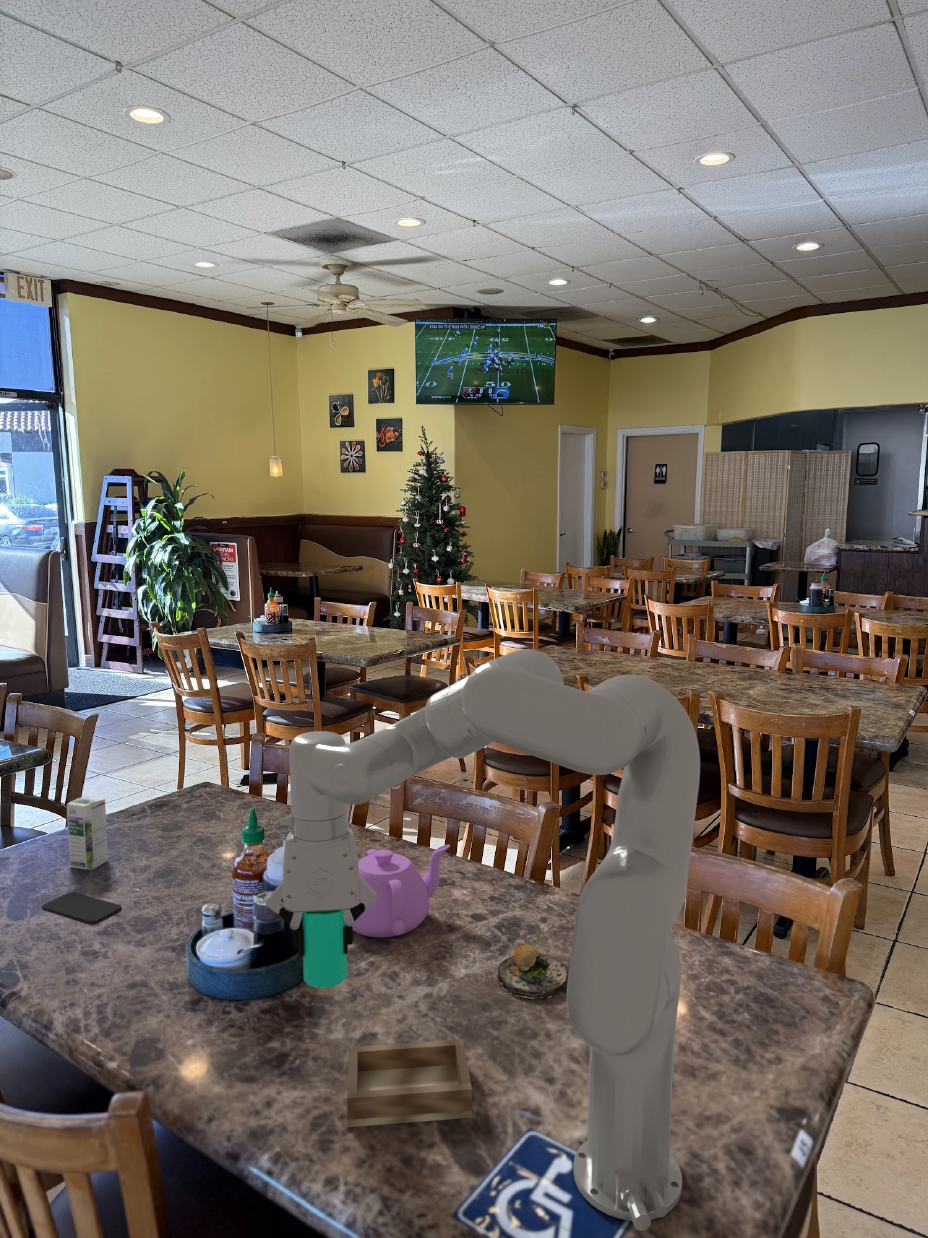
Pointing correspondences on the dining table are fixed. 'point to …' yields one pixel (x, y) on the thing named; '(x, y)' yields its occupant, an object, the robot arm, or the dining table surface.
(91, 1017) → the dining table surface
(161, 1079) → the dining table surface
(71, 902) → the phone
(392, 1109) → the tray
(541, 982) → the plate of food
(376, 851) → the teapot
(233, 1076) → the dining table surface
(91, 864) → the syrup box
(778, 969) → the dining table surface
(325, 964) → the candle
